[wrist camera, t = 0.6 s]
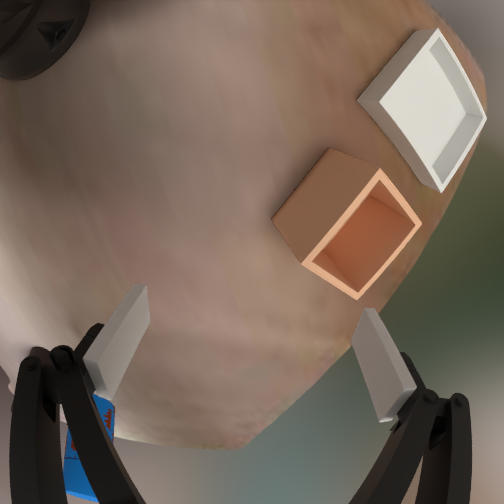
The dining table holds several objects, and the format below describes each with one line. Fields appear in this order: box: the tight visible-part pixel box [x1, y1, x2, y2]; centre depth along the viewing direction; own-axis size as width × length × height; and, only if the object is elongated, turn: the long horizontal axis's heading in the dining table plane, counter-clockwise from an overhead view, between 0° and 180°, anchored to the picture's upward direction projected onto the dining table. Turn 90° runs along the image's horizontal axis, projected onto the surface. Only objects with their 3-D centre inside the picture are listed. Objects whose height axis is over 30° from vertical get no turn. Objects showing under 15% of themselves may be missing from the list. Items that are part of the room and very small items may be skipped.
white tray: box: [356, 28, 487, 193], centre depth 29 cm, size 18×18×5 cm
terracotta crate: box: [271, 148, 422, 300], centre depth 31 cm, size 10×12×11 cm
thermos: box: [63, 394, 115, 502], centre depth 39 cm, size 11×11×25 cm
